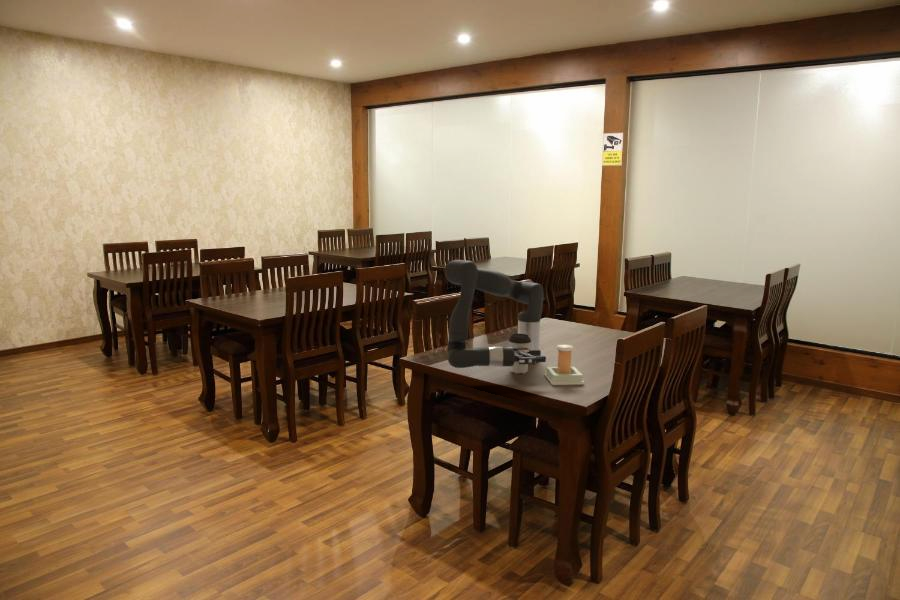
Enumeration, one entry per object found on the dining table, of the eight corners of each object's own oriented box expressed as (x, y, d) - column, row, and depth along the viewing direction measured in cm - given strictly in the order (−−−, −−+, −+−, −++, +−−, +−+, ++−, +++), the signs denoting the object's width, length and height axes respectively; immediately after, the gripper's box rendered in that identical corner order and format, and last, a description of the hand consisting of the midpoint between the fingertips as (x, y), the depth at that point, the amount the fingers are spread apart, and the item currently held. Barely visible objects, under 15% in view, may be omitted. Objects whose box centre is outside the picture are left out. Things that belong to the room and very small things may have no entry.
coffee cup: (528, 367, 243) (529, 331, 240) (532, 374, 234) (533, 337, 231) (506, 367, 243) (507, 331, 240) (509, 374, 234) (510, 337, 231)
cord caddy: (544, 375, 233) (544, 366, 233) (574, 374, 234) (575, 366, 234) (552, 384, 221) (552, 375, 221) (583, 384, 222) (584, 375, 222)
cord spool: (554, 374, 230) (555, 344, 228) (569, 374, 231) (570, 344, 229) (557, 379, 224) (559, 348, 222) (573, 379, 225) (575, 348, 223)
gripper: (504, 351, 216) (548, 351, 218) (497, 342, 230) (539, 341, 232) (503, 371, 218) (547, 371, 219) (497, 360, 232) (538, 360, 233)
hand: (543, 355), depth 225 cm, fingers open, 8 cm apart
